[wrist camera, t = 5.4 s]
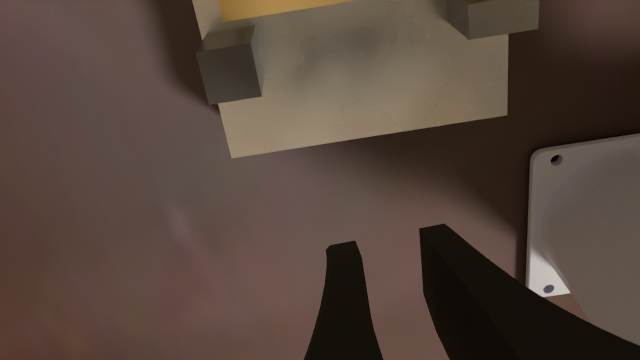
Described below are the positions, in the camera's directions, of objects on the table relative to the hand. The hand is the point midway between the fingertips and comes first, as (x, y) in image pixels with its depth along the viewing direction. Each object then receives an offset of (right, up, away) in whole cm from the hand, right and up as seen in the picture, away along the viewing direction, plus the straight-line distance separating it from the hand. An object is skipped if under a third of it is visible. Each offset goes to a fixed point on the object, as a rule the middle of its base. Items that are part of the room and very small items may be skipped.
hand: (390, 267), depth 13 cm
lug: (-4, +6, +5) cm, 9 cm away
